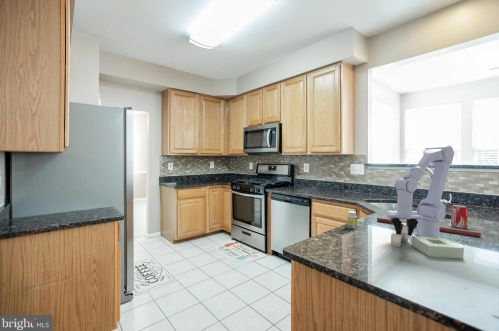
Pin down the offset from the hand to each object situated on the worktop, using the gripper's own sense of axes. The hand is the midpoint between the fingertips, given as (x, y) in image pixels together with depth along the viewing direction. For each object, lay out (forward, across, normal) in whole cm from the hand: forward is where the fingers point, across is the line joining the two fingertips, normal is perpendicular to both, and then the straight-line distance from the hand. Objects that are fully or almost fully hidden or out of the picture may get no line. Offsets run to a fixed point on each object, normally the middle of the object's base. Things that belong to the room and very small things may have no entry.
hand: (403, 235), depth 109 cm
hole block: (+3, +7, -11) cm, 13 cm away
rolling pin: (+3, +22, +24) cm, 33 cm away
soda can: (+3, +44, +31) cm, 54 cm away
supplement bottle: (+3, -17, +19) cm, 26 cm away
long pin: (+3, 0, 0) cm, 3 cm away
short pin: (+3, -6, -6) cm, 9 cm away
